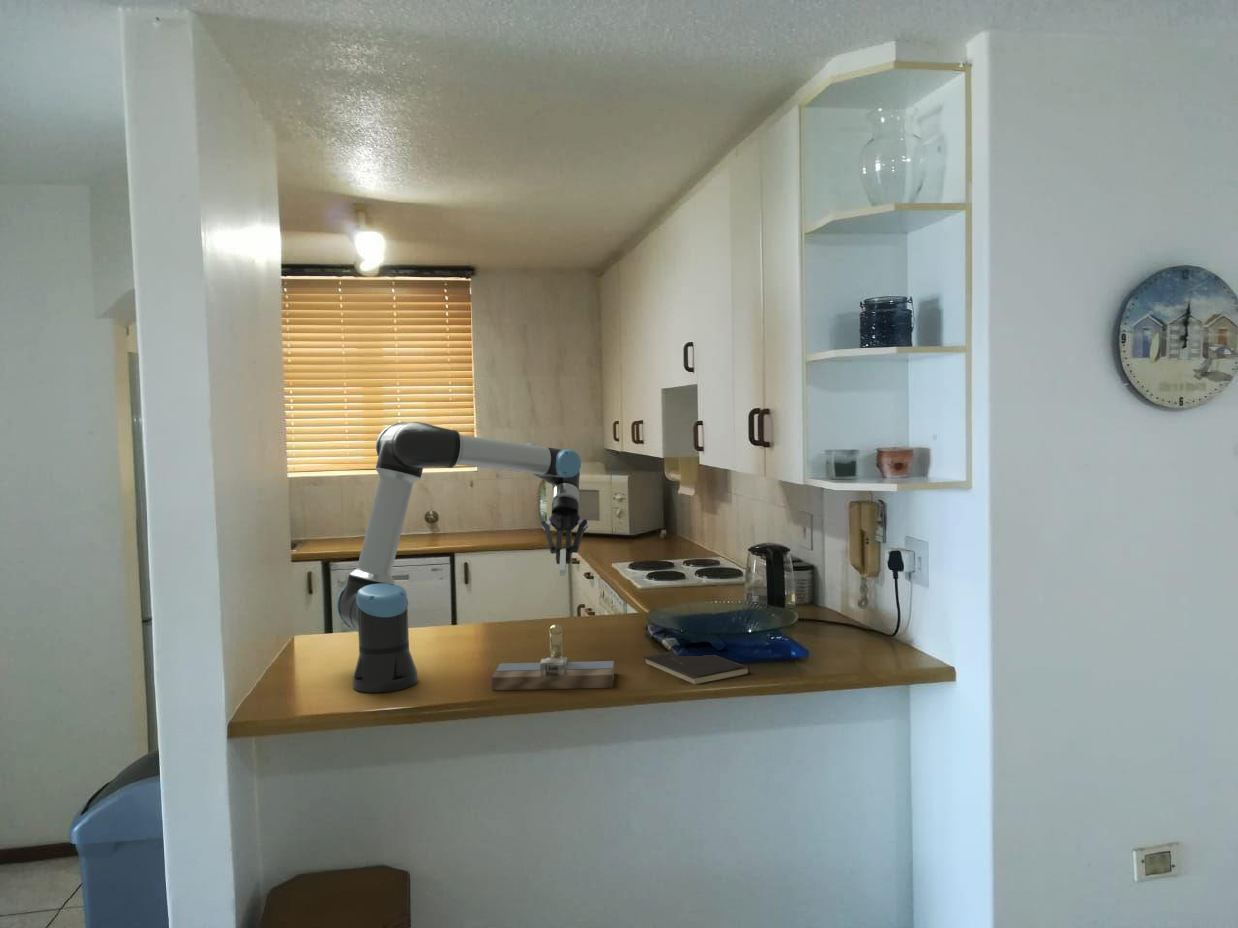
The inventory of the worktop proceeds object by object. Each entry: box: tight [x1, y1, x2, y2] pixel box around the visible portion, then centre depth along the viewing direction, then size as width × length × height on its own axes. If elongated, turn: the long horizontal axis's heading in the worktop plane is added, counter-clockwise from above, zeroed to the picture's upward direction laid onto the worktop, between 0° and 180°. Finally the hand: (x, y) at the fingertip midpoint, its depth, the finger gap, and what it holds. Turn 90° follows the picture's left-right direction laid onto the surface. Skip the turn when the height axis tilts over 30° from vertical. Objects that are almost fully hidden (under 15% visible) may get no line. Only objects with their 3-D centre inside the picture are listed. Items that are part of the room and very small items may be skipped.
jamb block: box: [491, 657, 614, 691], centre depth 207 cm, size 28×5×6 cm, turn 88°
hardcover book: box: [643, 650, 750, 685], centre depth 218 cm, size 16×23×2 cm
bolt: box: [548, 623, 563, 668], centre depth 214 cm, size 3×7×9 cm, turn 178°
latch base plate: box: [495, 656, 615, 681], centre depth 213 cm, size 28×6×4 cm, turn 88°
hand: (562, 572), depth 232 cm, fingers closed
